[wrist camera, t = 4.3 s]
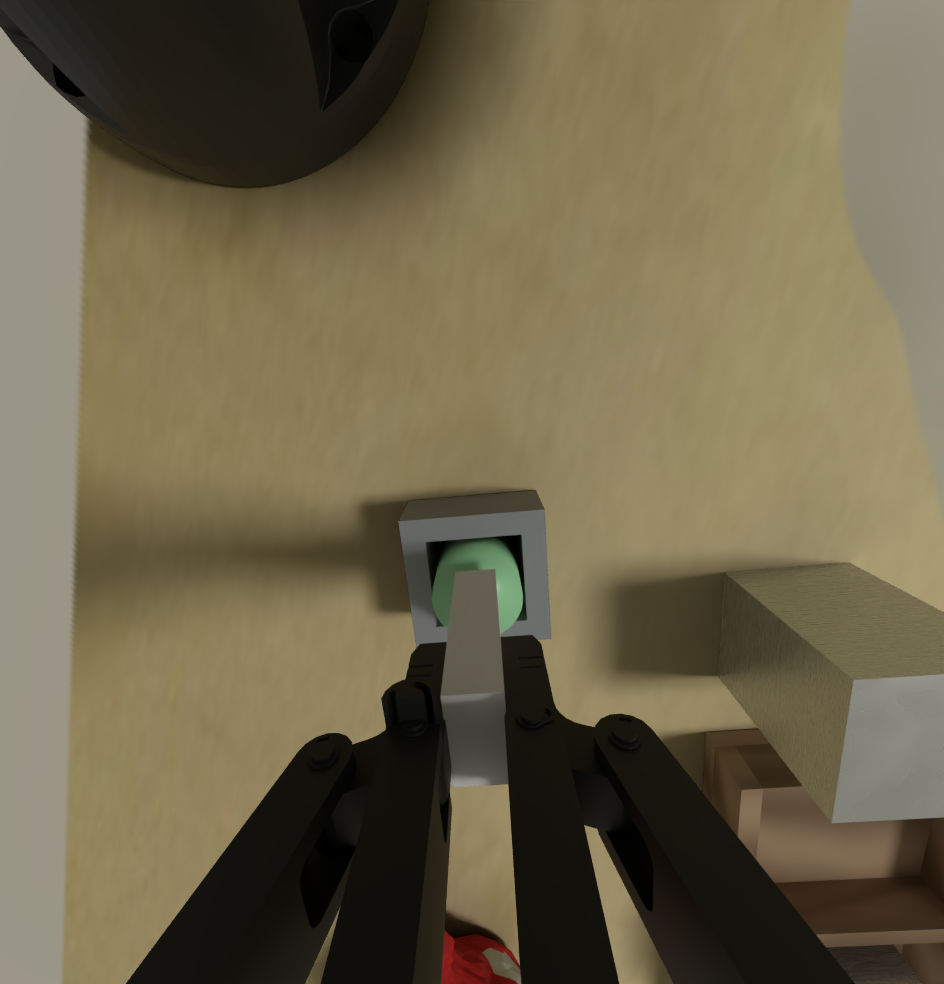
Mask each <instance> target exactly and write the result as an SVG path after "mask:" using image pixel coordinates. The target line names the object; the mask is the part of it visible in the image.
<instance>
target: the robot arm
mask: <svg viewBox="0 0 944 984" xmlns="http://www.w3.org/2000/svg"><path fill="white" fill-rule="evenodd" d="M428 5H429V0H0V27H1V28H2V29H3V30H4V32H5V33H6V34H7V36H8V37H9V38H10V40H11V41H12V43H13V44H14V45H15V46H16V47H17V48H18V50H19V51H20V52H21V53H22V54H23V55H24V57H26V59H27V60H28V61H29V62H30V63H31V65H32V66H33V67H34V68H35V69H36V70H37V71H38V72H39V73H40V75H41V76H42V77H43V78H44V79H45V80H46V81H47V82H48V83H49V84H50V85H51V86H52V87H53V88H54V89H55V90H56V91H57V92H58V93H59V94H60V95H62V96H63V97H64V98H65V99H66V100H67V101H68V102H69V103H71V104H72V105H73V106H74V107H75V108H77V109H78V110H79V111H80V112H81V113H83V114H84V115H85V116H86V117H87V118H89V119H90V120H92V121H93V122H94V123H96V124H97V125H98V126H100V127H101V128H103V129H104V130H106V131H107V132H109V133H110V134H112V135H114V136H115V137H117V138H118V139H120V140H121V141H123V142H125V143H126V144H128V145H129V146H131V147H132V148H134V149H136V150H137V151H139V152H140V153H142V154H143V155H145V156H147V157H148V158H150V159H151V160H153V161H155V162H157V163H159V164H161V165H163V166H164V167H166V168H169V169H171V170H173V171H175V172H178V173H180V174H183V175H185V176H188V177H191V178H194V179H197V180H201V181H205V182H208V183H213V184H219V185H225V186H235V187H258V186H268V185H275V184H280V183H284V182H288V181H292V180H295V179H298V178H301V177H304V176H307V175H309V174H311V173H313V172H315V171H318V170H320V169H321V168H323V167H325V166H327V165H329V164H330V163H332V162H334V161H335V160H337V159H338V158H339V157H341V156H342V155H344V154H345V153H346V152H348V151H349V150H350V149H351V148H352V147H354V146H355V145H356V144H357V143H358V142H359V141H360V140H361V139H362V138H363V137H364V136H365V135H366V134H367V133H368V132H369V131H370V130H371V129H372V128H373V127H374V125H375V124H376V123H377V122H378V121H379V119H380V118H381V117H382V115H383V114H384V113H385V111H386V110H387V109H388V107H389V105H390V104H391V102H392V101H393V99H394V98H395V96H396V94H397V93H398V91H399V89H400V87H401V85H402V83H403V82H404V79H405V77H406V75H407V73H408V71H409V69H410V67H411V64H412V61H413V59H414V56H415V54H416V51H417V48H418V45H419V42H420V39H421V35H422V32H423V28H424V24H425V20H426V16H427V11H428ZM381 700H382V705H383V711H384V717H385V723H386V730H385V731H384V732H382V733H381V734H379V735H377V736H375V737H373V738H370V739H368V740H365V741H362V742H359V743H356V744H353V745H352V742H351V740H350V739H349V738H348V737H347V736H345V735H343V734H340V733H328V734H324V735H321V736H318V737H316V738H314V739H313V740H311V741H309V742H308V743H306V744H305V745H304V746H303V747H302V748H301V749H300V750H299V751H298V753H297V754H296V755H295V757H294V758H293V759H292V761H291V762H290V763H289V765H288V766H287V768H286V769H285V770H284V772H283V773H282V774H281V776H280V777H279V778H278V780H277V781H276V782H275V784H274V785H273V786H272V788H271V789H270V790H269V792H268V793H267V794H266V796H265V797H264V799H263V800H262V801H261V803H260V804H259V805H258V807H257V808H256V809H255V811H254V812H253V813H252V815H251V816H250V817H249V819H248V820H247V821H246V823H245V824H244V825H243V827H242V828H241V829H240V831H239V832H238V834H237V835H236V836H235V838H234V839H233V840H232V842H231V843H230V844H229V846H228V847H227V848H226V850H225V851H224V852H223V854H222V855H221V856H220V858H219V859H218V860H217V862H216V863H215V864H214V866H213V867H212V869H211V870H210V871H209V873H208V874H207V875H206V877H205V878H204V879H203V881H202V882H201V883H200V885H199V886H198V887H197V889H196V890H195V891H194V893H193V894H192V895H191V897H190V898H189V899H188V901H187V902H186V904H185V905H184V906H183V908H182V909H181V910H180V912H179V913H178V914H177V916H176V917H175V918H174V920H173V921H172V922H171V924H170V925H169V926H168V928H167V929H166V930H165V932H164V933H163V934H162V936H161V937H160V939H159V940H158V941H157V943H156V944H155V945H154V947H153V948H152V949H151V951H150V952H149V953H148V955H147V956H146V957H145V959H144V960H143V961H142V963H141V964H140V965H139V967H138V968H137V970H136V971H135V972H134V974H133V975H132V976H131V978H130V979H129V980H128V982H127V983H126V984H305V982H306V980H307V978H308V976H309V973H310V971H311V969H312V967H313V965H314V963H315V960H316V958H317V956H318V954H319V952H320V950H321V947H322V945H323V943H324V941H325V939H326V936H327V934H328V932H329V930H330V928H331V926H332V923H333V921H334V919H335V917H336V915H337V913H338V910H339V908H340V911H339V915H338V919H337V922H336V926H335V930H334V934H333V938H332V942H331V946H330V950H329V954H328V958H327V962H326V966H325V970H324V973H323V977H322V981H321V984H441V979H442V963H443V946H444V930H445V913H446V897H447V880H448V864H449V848H450V831H451V815H452V805H451V798H450V781H451V780H452V787H463V786H481V785H499V784H508V785H509V800H510V816H511V832H512V847H513V863H514V879H515V894H516V910H517V926H518V941H519V957H520V973H521V984H619V981H618V976H617V972H616V967H615V963H614V958H613V954H612V949H611V945H610V940H609V936H608V931H607V926H606V922H605V917H604V913H603V908H602V904H601V899H600V895H599V890H598V886H597V881H596V877H595V872H594V868H593V863H592V859H591V854H590V850H589V845H588V841H587V836H586V832H585V827H584V825H586V826H590V827H593V828H597V829H598V833H599V835H600V837H601V839H602V841H603V843H604V845H605V847H606V849H607V851H608V853H609V855H610V857H611V859H612V861H613V863H614V865H615V867H616V869H617V871H618V873H619V875H620V877H621V879H622V881H623V883H624V885H625V887H626V889H627V891H628V893H629V895H630V897H631V899H632V901H633V903H634V905H635V907H636V909H637V911H638V913H639V915H640V917H641V919H642V921H643V923H644V925H645V927H646V929H647V931H648V933H649V935H650V937H651V939H652V941H653V943H654V945H655V947H656V949H657V951H658V953H659V955H660V957H661V959H662V961H663V963H664V965H665V967H666V969H667V971H668V973H669V975H670V977H671V979H672V981H673V983H674V984H855V983H854V982H853V980H852V979H851V978H850V977H849V975H848V974H847V973H846V972H845V970H844V969H843V968H842V967H841V965H840V964H839V963H838V962H837V960H836V959H835V958H834V957H833V955H832V954H831V953H830V952H829V950H828V949H827V948H826V947H825V945H824V944H823V943H822V942H821V940H820V939H819V938H818V937H817V935H816V934H815V933H814V932H813V930H812V929H811V928H810V927H809V925H808V924H807V923H806V922H805V920H804V919H803V918H802V917H801V915H800V914H799V913H798V912H797V910H796V909H795V908H794V907H793V905H792V904H791V903H790V901H789V900H788V899H787V898H786V896H785V895H784V894H783V893H782V891H781V890H780V889H779V888H778V886H777V885H776V884H775V883H774V881H773V880H772V879H771V878H770V876H769V875H768V874H767V873H766V871H765V870H764V869H763V868H762V866H761V865H760V864H759V863H758V861H757V860H756V859H755V858H754V856H753V855H752V854H751V853H750V851H749V850H748V849H747V848H746V846H745V845H744V844H743V843H742V841H741V840H740V839H739V838H738V836H737V835H736V834H735V833H734V831H733V830H732V829H731V828H730V826H729V825H728V824H727V823H726V821H725V820H724V819H723V818H722V816H721V815H720V814H719V813H718V811H717V810H716V809H715V808H714V806H713V805H712V804H711V803H710V801H709V800H708V799H707V798H706V796H705V795H704V794H703V793H702V791H701V790H700V789H699V788H698V786H697V785H696V784H695V783H694V781H693V780H692V779H691V778H690V776H689V775H688V774H687V773H686V771H685V770H684V769H683V768H682V766H681V765H680V764H679V763H678V761H677V760H676V759H675V758H674V756H673V755H672V754H671V752H670V751H669V750H668V749H667V747H666V746H665V745H664V744H663V742H662V741H661V740H660V739H659V737H658V736H657V735H656V734H655V732H654V731H653V730H652V729H651V728H650V727H649V726H648V725H647V724H646V723H645V722H643V721H642V720H640V719H638V718H635V717H633V716H630V715H625V714H612V715H608V716H606V717H604V718H602V719H600V720H599V722H598V723H597V724H596V725H595V727H591V726H586V725H582V724H578V723H575V722H573V721H571V720H569V719H567V718H565V717H564V716H563V715H562V714H560V712H559V711H558V710H557V709H556V707H555V704H554V701H553V696H552V692H551V687H550V683H549V678H548V673H547V669H546V664H545V660H544V655H543V650H542V646H541V643H540V642H539V641H538V640H537V639H536V638H535V637H534V636H533V635H521V636H507V637H501V630H500V618H499V607H498V595H497V583H496V571H495V569H486V570H473V571H460V572H455V579H454V587H453V595H452V604H451V612H450V620H449V629H448V637H447V642H437V643H423V644H420V645H419V646H418V647H417V648H416V649H415V651H414V652H413V653H412V654H411V658H410V662H409V668H408V671H407V675H406V679H405V680H402V681H400V682H398V683H395V684H393V685H392V686H391V687H390V688H389V689H387V690H386V691H385V693H384V695H383V697H382V698H381ZM340 906H341V907H340Z"/></svg>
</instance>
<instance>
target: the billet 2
mask: <svg viewBox="0 0 944 984" xmlns="http://www.w3.org/2000/svg"><path fill="white" fill-rule="evenodd" d="M826 948H827V949H828V950H829V952H830V953H831V954H832V955H833V957H834V958H835V959H836V960H837V962H838V963H839V964H840V965H841V967H842V968H843V969H844V970H845V972H846V973H847V974H848V975H849V977H850V978H851V979H852V980H853V982H854V983H855V984H922V983H921V982H920V981H919V979H918V978H917V977H916V975H915V974H914V972H913V971H912V970H911V968H910V967H909V965H908V964H907V963H906V961H905V960H904V958H903V957H902V956H901V954H900V953H899V951H898V950H897V949H896V947H895V946H894V944H892V945H869V946H845V947H826Z"/></svg>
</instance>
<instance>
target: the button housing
mask: <svg viewBox="0 0 944 984" xmlns="http://www.w3.org/2000/svg"><path fill="white" fill-rule="evenodd" d="M398 523H399V530H400V537H401V544H402V551H403V558H404V565H405V572H406V579H407V586H408V593H409V600H410V607H411V614H412V621H413V628H414V635H415V642H416V648H417V647H418V646H419V645H420V644H423V643H437V642H447V637H448V629H447V628H446V627H444V625H443V624H442V623H441V622H440V621H439V619H438V618H437V616H436V614H435V612H434V609H433V605H432V591H433V586H434V581H435V576H436V572H437V567H438V560H437V551H436V543H435V541H446V540H459V539H471V538H484V537H496V536H509V535H518V550H519V564H520V579H521V587H522V593H523V604H522V609H521V612H520V614H519V616H518V618H517V619H516V621H515V622H514V623H513V625H512V626H511V627H509V628H508V629H507V630H506V631H504V632H503V633H501V637H507V636H521V635H533V636H534V637H535V638H536V639H537V640H542V639H551V623H550V604H549V584H548V565H547V546H546V526H545V509H544V507H543V505H542V503H541V500H540V498H539V496H538V494H537V492H536V490H531V491H519V492H507V493H495V494H483V495H471V496H459V497H448V498H436V499H424V500H412V501H409V502H408V504H407V506H406V508H405V510H404V512H403V514H402V515H401V517H400V519H399V521H398Z"/></svg>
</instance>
